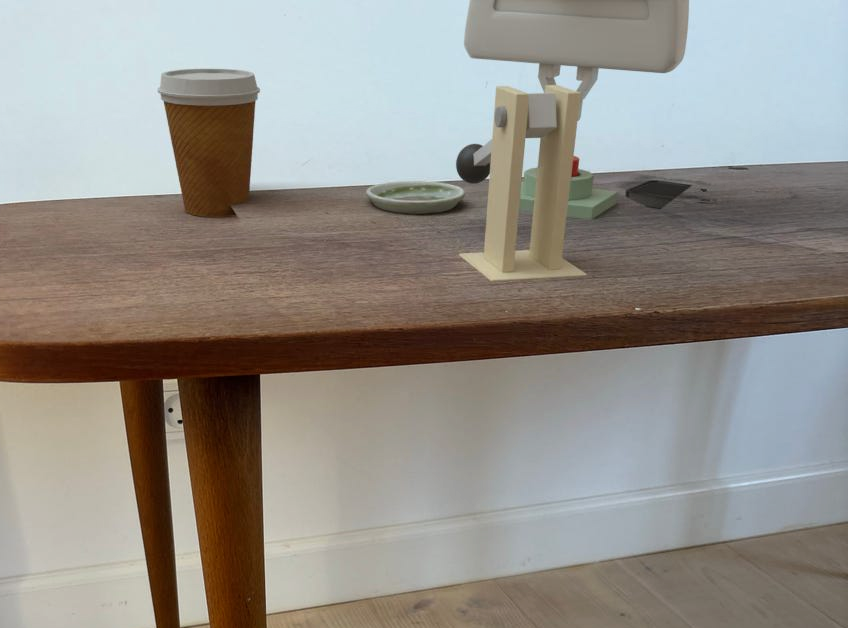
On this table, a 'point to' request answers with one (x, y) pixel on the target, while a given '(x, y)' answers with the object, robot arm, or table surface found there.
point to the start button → (575, 166)
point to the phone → (656, 192)
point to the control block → (571, 195)
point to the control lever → (477, 157)
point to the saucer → (441, 192)
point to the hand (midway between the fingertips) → (562, 120)
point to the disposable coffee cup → (211, 136)
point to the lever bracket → (549, 192)
